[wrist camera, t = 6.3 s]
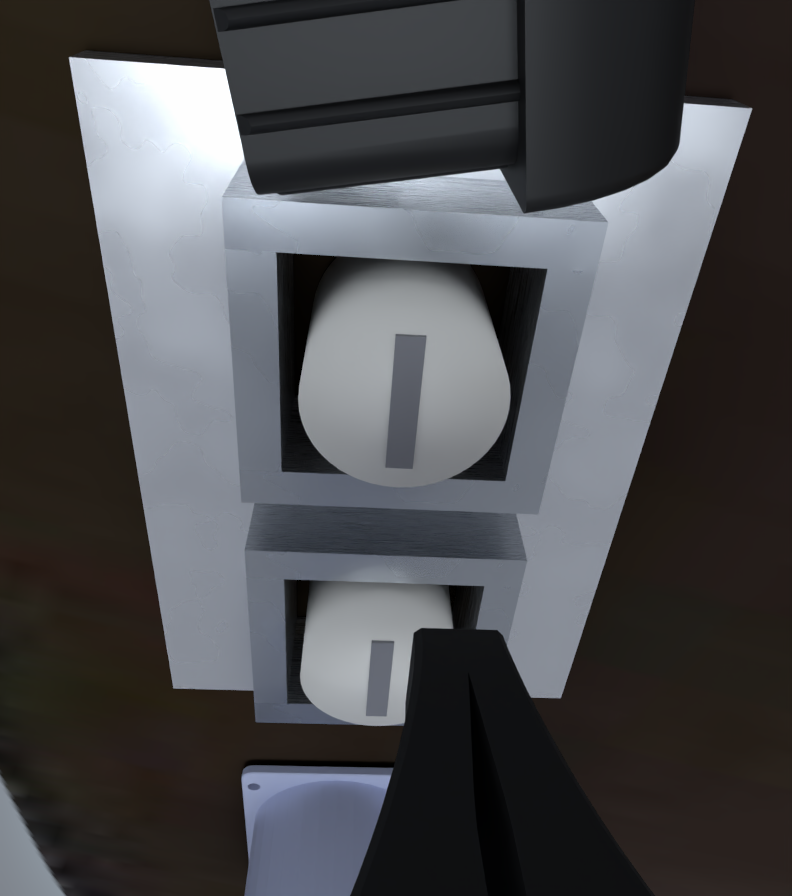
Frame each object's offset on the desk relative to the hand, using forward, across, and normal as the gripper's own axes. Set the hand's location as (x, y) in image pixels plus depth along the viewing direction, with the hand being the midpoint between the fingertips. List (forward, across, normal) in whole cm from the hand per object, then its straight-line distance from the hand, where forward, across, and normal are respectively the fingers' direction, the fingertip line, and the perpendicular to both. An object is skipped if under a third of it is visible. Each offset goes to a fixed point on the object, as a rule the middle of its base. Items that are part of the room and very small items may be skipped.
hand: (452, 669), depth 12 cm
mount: (+10, +1, +3) cm, 10 cm away
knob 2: (+10, +1, +7) cm, 12 cm away
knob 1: (+10, +1, -2) cm, 10 cm away
